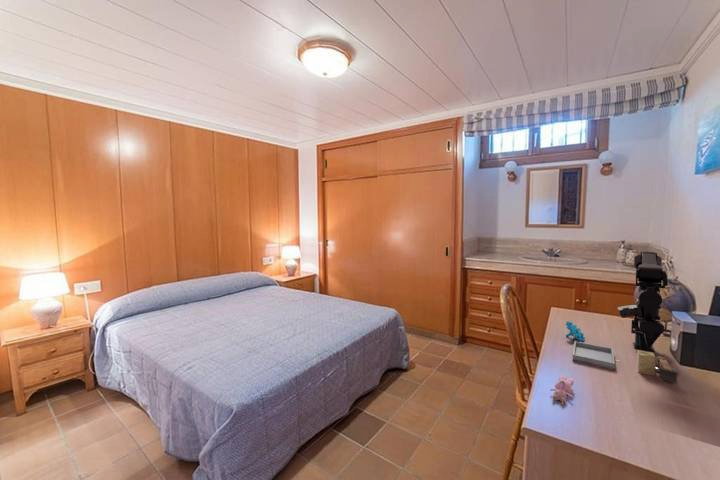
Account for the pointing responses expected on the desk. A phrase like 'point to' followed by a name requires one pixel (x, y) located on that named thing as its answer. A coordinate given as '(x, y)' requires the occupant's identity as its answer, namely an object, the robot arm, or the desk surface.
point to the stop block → (646, 362)
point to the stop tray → (594, 355)
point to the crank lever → (665, 370)
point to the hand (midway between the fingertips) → (647, 341)
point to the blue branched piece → (575, 331)
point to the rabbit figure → (563, 389)
